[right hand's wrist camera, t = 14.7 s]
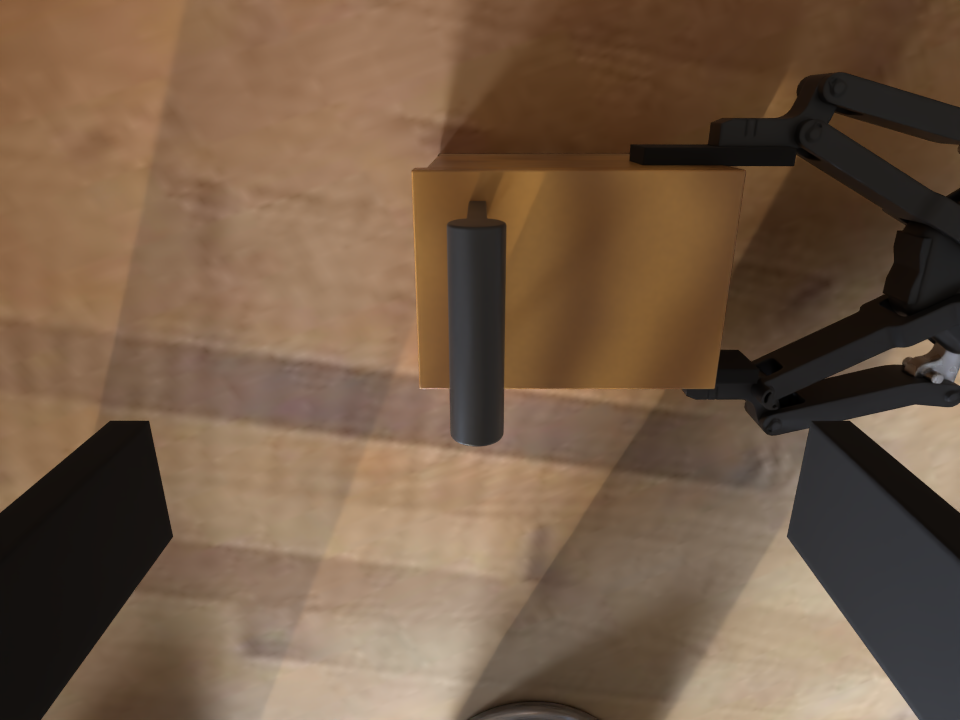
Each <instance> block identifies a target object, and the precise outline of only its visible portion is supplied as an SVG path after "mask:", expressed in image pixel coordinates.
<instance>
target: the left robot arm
mask: <svg viewBox="0 0 960 720" xmlns="http://www.w3.org/2000/svg"><path fill="white" fill-rule="evenodd" d="M834 113H837V114H841V115H844V116H847V117H851V118H854V119H858V120H861V121H864V122H868V123H871V124H875V125H878V126H881V127H885V128H888V129H892V130H895V131H898V132H902V133H905V134H908V135H912V136H915V137H919V138H922V139H925V140H929V141H933V142H937V143H943V144H956V145H959V147H958V152H959V154H960V107H956V106H953V105H950V104H947V103H943V102H940V101H937V100H933V99H930V98H927V97H923V96H920V95H917V94H913V93H910V92H907V91H903V90H900V89H897V88H894V87H890V86H887V85H884V84H880V83H877V82H874V81H870V80H867V79H864V78H860V77H857V76H854V75H851V74H847V73H842V72H837V73H828V74H819V75H810V76H808V77H805V78H804V79H803V80H802V81H801V82H800V83H799V85H798V87H797V99H796V101H795V103H794V105H793V106H792V108H791V109H790V111H789V112H788V113H787V114H785V115H784V116H782V117H779V118H722V119H719V120H717V121H714V122H712V123H711V125H710V133H709V141H708V145H631V146H630V158H629V161H631V162H634V163H637V164H640V165H724V166H794V164H795V158H796V155H798V156H800V157H801V158H803V159H804V160H806V161H808V162H809V163H811V164H812V165H814V166H816V167H817V168H819V169H820V170H822V171H824V172H825V173H827V174H828V175H830V176H832V177H833V178H835V179H836V180H838V181H840V182H841V183H843V184H844V185H846V186H848V187H849V188H851V189H852V190H854V191H856V192H857V193H859V194H860V195H862V196H864V197H865V198H867V199H868V200H870V201H872V202H873V203H875V204H876V205H878V206H880V207H881V208H882V210H883V211H884V212H885V213H887V214H889V215H890V216H892V217H893V218H895V219H897V220H898V221H900V222H901V223H903V224H905V225H906V226H905V228H904V230H903V231H897V234H896V238H895V243H894V264H893V266H892V268H891V270H890V272H889V274H888V275H887V277H886V281H885V285H884V290H883V293H884V295H882V296H880V297H878V298H876V299H874V300H872V301H869V302H867V303H865V304H864V305H862V306H861V307H860V311H859V312H857V313H855V314H853V315H851V316H849V317H847V318H844V319H842V320H840V321H838V322H836V323H834V324H831V325H829V326H827V327H825V328H823V329H821V330H819V331H816V332H814V333H812V334H810V335H808V336H806V337H803V338H801V339H799V340H797V341H795V342H793V343H791V344H788V345H786V346H784V347H782V348H780V349H778V350H776V351H773V352H771V353H769V354H767V355H765V356H763V357H760V358H758V359H756V360H754V361H752V362H751V361H750V360H749V359H748V358H747V357H746V356H744V355H743V354H742V353H741V352H740V351H739V350H720V355H719V361H718V368H717V375H716V382H715V388H714V389H682V390H683V392H684V393H685V394H686V396H688V397H691V398H693V399H696V400H700V399H743V400H745V401H746V402H745V406H744V408H745V410H746V412H747V413H748V414H749V415H750V416H751V417H752V418H753V420H754V421H755V422H756V423H757V424H758V425H759V426H760V427H761V429H762V430H763V431H764V432H765V433H766V434H768V435H771V436H773V435H780V434H784V433H789V432H793V431H798V430H802V429H807V428H810V423H811V421H843V420H847V419H852V418H856V417H861V416H865V415H870V414H874V413H878V412H883V411H887V410H892V409H896V408H901V407H905V406H910V405H914V404H917V405H928V406H940V407H953V406H955V405H957V404H959V403H960V386H959V385H957V384H955V383H954V380H955V378H956V375H957V373H958V370H959V368H960V188H959V189H957V190H956V191H954V192H952V193H951V194H949V195H948V196H946V197H945V196H943V195H941V194H938V193H936V192H933V191H932V190H930V189H928V188H927V187H925V186H924V185H922V184H921V183H919V182H917V181H916V180H914V179H913V178H911V177H910V176H908V175H907V174H905V173H903V172H902V171H900V170H899V169H897V168H896V167H894V166H893V165H891V164H889V163H888V162H886V161H885V160H883V159H882V158H880V157H879V156H877V155H875V154H874V153H872V152H871V151H869V150H868V149H866V148H865V147H863V146H861V145H860V144H858V143H857V142H855V141H854V140H852V139H851V138H849V137H847V136H846V135H844V134H843V133H841V132H840V131H838V130H837V129H835V128H833V127H832V126H830V125H829V124H828V123H829V121H830V120H831V118H832V116H833V114H834ZM926 339H928V340H930V341H931V342H932V343H933V344H934V346H933V348H932V350H931V351H930V352H929V353H927V354H925V355H923V356H917V357H914V358H912V357H907V358H905V359H904V360H903V362H902V365H885V366H879V367H874V368H870V369H865V370H861V371H857V372H852V373H848V374H843V375H839V376H835V377H830V378H827V377H829V376H832V375H834V374H836V373H838V372H840V371H843V370H845V369H847V368H849V367H852V366H854V365H856V364H858V363H860V362H863V361H865V360H867V359H869V358H871V357H874V356H876V355H878V354H880V353H883V352H885V351H887V350H889V349H892V348H895V347H909V346H912V345H915V344H917V343H919V342H922V341H924V340H926ZM825 378H826V379H825ZM469 720H598V719H596V718H595V717H593V716H591V715H589V714H587V713H585V712H583V711H581V710H578V709H575V708H573V707H569V706H565V705H561V704H556V703H548V702H521V703H513V704H507V705H503V706H499V707H496V708H493V709H490V710H487V711H485V712H483V713H480V714H478V715H476V716H475V717H473V718H471V719H469Z"/></svg>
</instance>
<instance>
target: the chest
mask: <svg viewBox="0 0 960 720" xmlns="http://www.w3.org/2000/svg"><path fill="white" fill-rule="evenodd" d="M629 158H630V154H439V155H438V157H437V158H436V159H435V160H434V161H433V162H432V163H431V164H430V165H429V167H428V168H733V167H728V166H724V165H640V164H637V163H634V162H631V161H629Z"/></svg>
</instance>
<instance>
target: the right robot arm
mask: <svg viewBox="0 0 960 720" xmlns="http://www.w3.org/2000/svg"><path fill="white" fill-rule="evenodd" d="M172 537H173V534H172V529H171V524H170V520H169V515H168V510H167V505H166V500H165V496H164V491H163V486H162V481H161V476H160V472H159V467H158V462H157V457H156V452H155V447H154V443H153V438H152V433H151V428H150V423H149V421H110V422H108V423H107V424H106V425H105V426H104V427H102V428H101V429H100V430H99V431H98V432H96V433H95V434H94V435H93V436H92V437H90V438H89V439H88V440H87V441H86V442H84V443H83V444H82V445H81V446H80V447H78V448H77V449H76V450H75V451H74V452H72V453H71V454H70V455H69V456H68V457H67V458H65V459H64V460H63V461H62V462H61V463H59V464H58V465H57V466H56V467H55V468H53V469H52V470H51V471H50V472H49V473H47V474H46V475H45V476H44V477H43V478H41V479H40V480H39V481H38V482H37V483H35V484H34V485H33V486H32V487H31V488H29V489H28V490H27V491H26V492H25V493H24V494H22V495H21V496H20V497H19V498H18V499H16V500H15V501H14V502H13V503H12V504H10V505H9V506H8V507H7V508H6V509H4V510H3V511H2V512H1V513H0V720H41V719H42V717H43V716H44V715H45V713H46V712H47V711H48V709H49V708H50V706H51V705H52V704H53V702H54V701H55V699H56V698H57V697H58V695H59V694H60V693H61V691H62V690H63V688H64V687H65V686H66V684H67V683H68V681H69V680H70V679H71V677H72V676H73V675H74V673H75V672H76V670H77V669H78V668H79V666H80V665H81V663H82V662H83V661H84V659H85V658H86V657H87V655H88V654H89V652H90V651H91V650H92V648H93V647H94V645H95V644H96V643H97V641H98V640H99V639H100V637H101V636H102V634H103V633H104V632H105V630H106V629H107V627H108V626H109V625H110V623H111V622H112V621H113V619H114V618H115V616H116V615H117V614H118V612H119V611H120V609H121V608H122V607H123V605H124V604H125V603H126V601H127V600H128V598H129V597H130V596H131V594H132V593H133V591H134V590H135V589H136V587H137V586H138V585H139V583H140V582H141V580H142V579H143V578H144V576H145V575H146V573H147V572H148V571H149V569H150V568H151V566H152V565H153V564H154V562H155V561H156V560H157V558H158V557H159V555H160V554H161V553H162V551H163V550H164V548H165V547H166V546H167V544H168V543H169V542H170V540H171V539H172ZM787 537H788V539H789V540H790V542H791V543H792V544H793V546H794V547H795V548H796V550H797V551H798V553H799V554H800V555H801V557H802V558H803V560H804V561H805V562H806V564H807V565H808V566H809V568H810V569H811V571H812V572H813V573H814V575H815V576H816V578H817V579H818V580H819V582H820V583H821V585H822V586H823V587H824V589H825V590H826V591H827V593H828V594H829V596H830V597H831V598H832V600H833V601H834V603H835V604H836V605H837V607H838V608H839V609H840V611H841V612H842V614H843V615H844V616H845V618H846V619H847V621H848V622H849V623H850V625H851V626H852V627H853V629H854V630H855V632H856V633H857V634H858V636H859V637H860V639H861V640H862V641H863V643H864V644H865V645H866V647H867V648H868V650H869V651H870V652H871V654H872V655H873V657H874V658H875V659H876V661H877V662H878V663H879V665H880V666H881V668H882V669H883V670H884V672H885V673H886V675H887V676H888V677H889V679H890V680H891V681H892V683H893V684H894V686H895V687H896V688H897V690H898V691H899V693H900V694H901V695H902V697H903V698H904V699H905V701H906V702H907V704H908V705H909V706H910V708H911V709H912V711H913V712H914V713H915V715H916V716H917V717H918V719H919V720H960V513H959V512H958V511H957V510H956V509H954V508H953V507H952V506H951V505H950V504H948V503H947V502H946V501H945V500H944V499H942V498H941V497H940V496H939V495H938V494H936V493H935V492H934V491H933V490H932V489H931V488H929V487H928V486H927V485H926V484H925V483H923V482H922V481H921V480H920V479H919V478H917V477H916V476H915V475H914V474H913V473H911V472H910V471H909V470H908V469H907V468H905V467H904V466H903V465H902V464H901V463H899V462H898V461H897V460H896V459H895V458H893V457H892V456H891V455H890V454H889V453H888V452H886V451H885V450H884V449H883V448H882V447H880V446H879V445H878V444H877V443H876V442H874V441H873V440H872V439H871V438H870V437H868V436H867V435H866V434H865V433H864V432H862V431H861V430H860V429H859V428H858V427H856V426H855V425H854V424H853V423H852V422H850V421H811V423H810V428H809V433H808V438H807V443H806V447H805V452H804V457H803V462H802V467H801V472H800V476H799V481H798V486H797V491H796V496H795V500H794V505H793V510H792V515H791V520H790V524H789V529H788V534H787Z"/></svg>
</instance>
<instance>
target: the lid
mask: <svg viewBox="0 0 960 720" xmlns="http://www.w3.org/2000/svg"><path fill="white" fill-rule="evenodd" d="M745 175H746V171H745V170H742V169H738V168H414V169H413V170H412V199H413V226H414V253H415V280H416V307H417V334H418V361H419V387H420V389H450V432H451V436H452V438H453V439H454V440H455V441H456V442H458V443H460V444H463V445H467V446H487V445H491V444H494V443H496V442H498V441H499V440H500V439H501V438H502V436H503V429H504V389H714V388H715V382H716V375H717V368H718V361H719V355H720V348H721V341H722V334H723V327H724V320H725V313H726V306H727V299H728V292H729V285H730V278H731V272H732V265H733V258H734V251H735V244H736V237H737V230H738V223H739V216H740V209H741V202H742V196H743V189H744V182H745Z"/></svg>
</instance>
